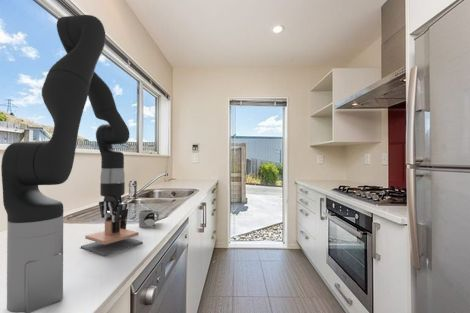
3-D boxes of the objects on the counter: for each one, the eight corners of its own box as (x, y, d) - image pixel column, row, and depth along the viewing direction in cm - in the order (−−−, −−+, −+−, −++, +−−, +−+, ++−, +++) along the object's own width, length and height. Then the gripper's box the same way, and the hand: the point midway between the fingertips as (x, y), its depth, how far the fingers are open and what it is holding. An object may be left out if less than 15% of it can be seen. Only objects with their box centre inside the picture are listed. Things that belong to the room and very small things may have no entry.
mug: (145, 228, 108) (145, 213, 108) (135, 226, 111) (135, 211, 111) (163, 223, 116) (163, 209, 116) (153, 221, 120) (153, 207, 120)
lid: (138, 235, 88) (138, 219, 88) (104, 244, 78) (105, 226, 78) (118, 230, 94) (118, 215, 95) (85, 238, 84) (85, 222, 85)
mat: (142, 243, 88) (142, 241, 88) (103, 256, 77) (103, 254, 77) (119, 237, 96) (119, 235, 96) (80, 247, 84) (80, 246, 84)
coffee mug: (119, 238, 95) (119, 211, 95) (99, 236, 96) (99, 210, 97) (137, 229, 106) (137, 206, 106) (119, 228, 108) (118, 205, 108)
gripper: (90, 181, 87) (90, 231, 87) (114, 183, 80) (113, 237, 79) (111, 180, 94) (111, 226, 93) (134, 181, 86) (134, 232, 85)
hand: (112, 231), depth 86 cm, fingers closed on lid, 3 cm apart
